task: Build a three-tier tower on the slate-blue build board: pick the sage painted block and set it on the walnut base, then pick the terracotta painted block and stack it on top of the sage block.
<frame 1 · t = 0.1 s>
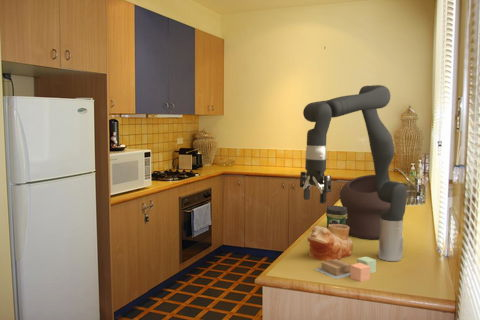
hand: (314, 201, 169), 29 cm above the worktop, fingers open, 8 cm apart
sage block: (366, 274, 177), on the worktop
walnut base: (336, 271, 177), point 1 cm above the worktop, touching build board
build board: (336, 274, 177), on the worktop
coffee jar: (335, 244, 217), on the worktop
terracotta block: (359, 281, 170), on the worktop
ceramic vessel: (329, 258, 197), on the worktop
vase: (364, 235, 235), on the worktop
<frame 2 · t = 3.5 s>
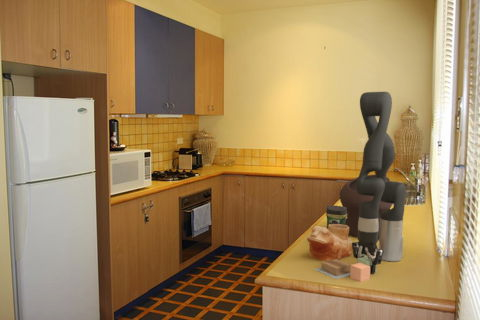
hand: (366, 271, 177), 1 cm above the worktop, fingers closed on sage block, 5 cm apart
sage block: (366, 274, 177), on the worktop, touching gripper
everything else where it was.
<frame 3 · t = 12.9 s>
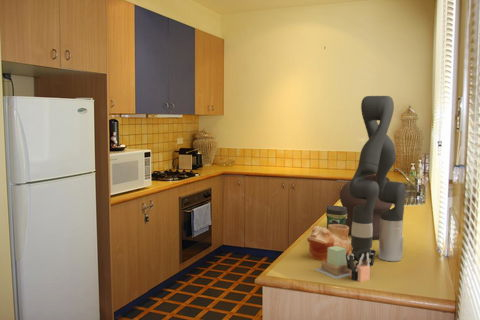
hand: (359, 278, 170), 1 cm above the worktop, fingers closed on terracotta block, 5 cm apart
sage block: (336, 263, 176), point 4 cm above the worktop, touching walnut base
walnut base: (336, 271, 177), point 1 cm above the worktop, touching build board, sage block
terracotta block: (359, 281, 170), on the worktop, touching gripper
everything else where it was.
when the fingers open (12 cm above the worktop, at t = 17.8 s): terracotta block drops 1 cm, resting on sage block.
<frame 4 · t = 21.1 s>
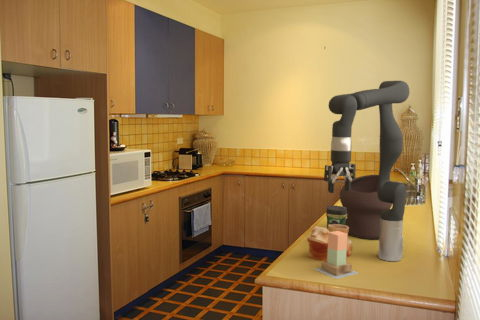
hand: (339, 191, 174), 32 cm above the worktop, fingers open, 8 cm apart
sage block: (336, 263, 176), point 4 cm above the worktop, touching terracotta block, walnut base
terracotta block: (337, 248, 176), point 10 cm above the worktop, touching sage block
everything else where it was.
at the end: sage block 0.1 cm off-centre on the walnut base, point 3.0 cm above the walnut base's base; terracotta block 0.0 cm off-centre on the walnut base, point 9.0 cm above the walnut base's base; terracotta block tilted 0° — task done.
